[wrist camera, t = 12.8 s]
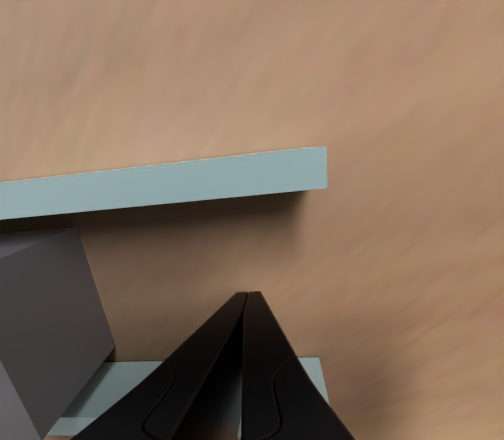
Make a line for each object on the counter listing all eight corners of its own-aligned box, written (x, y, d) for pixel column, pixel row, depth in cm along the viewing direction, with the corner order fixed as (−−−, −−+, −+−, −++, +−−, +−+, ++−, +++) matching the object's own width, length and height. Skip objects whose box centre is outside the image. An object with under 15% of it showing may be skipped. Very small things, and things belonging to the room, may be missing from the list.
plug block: (78, 226, 10) (-43, 276, 6) (117, 343, 12) (41, 440, 8) (-14, 233, 10) (-181, 285, 6) (36, 345, 12) (-72, 438, 8)
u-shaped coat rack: (310, 146, 8) (333, 146, 5) (319, 374, 11) (338, 462, 8) (-69, 189, 10) (-225, 210, 7) (25, 379, 13) (-54, 454, 9)
